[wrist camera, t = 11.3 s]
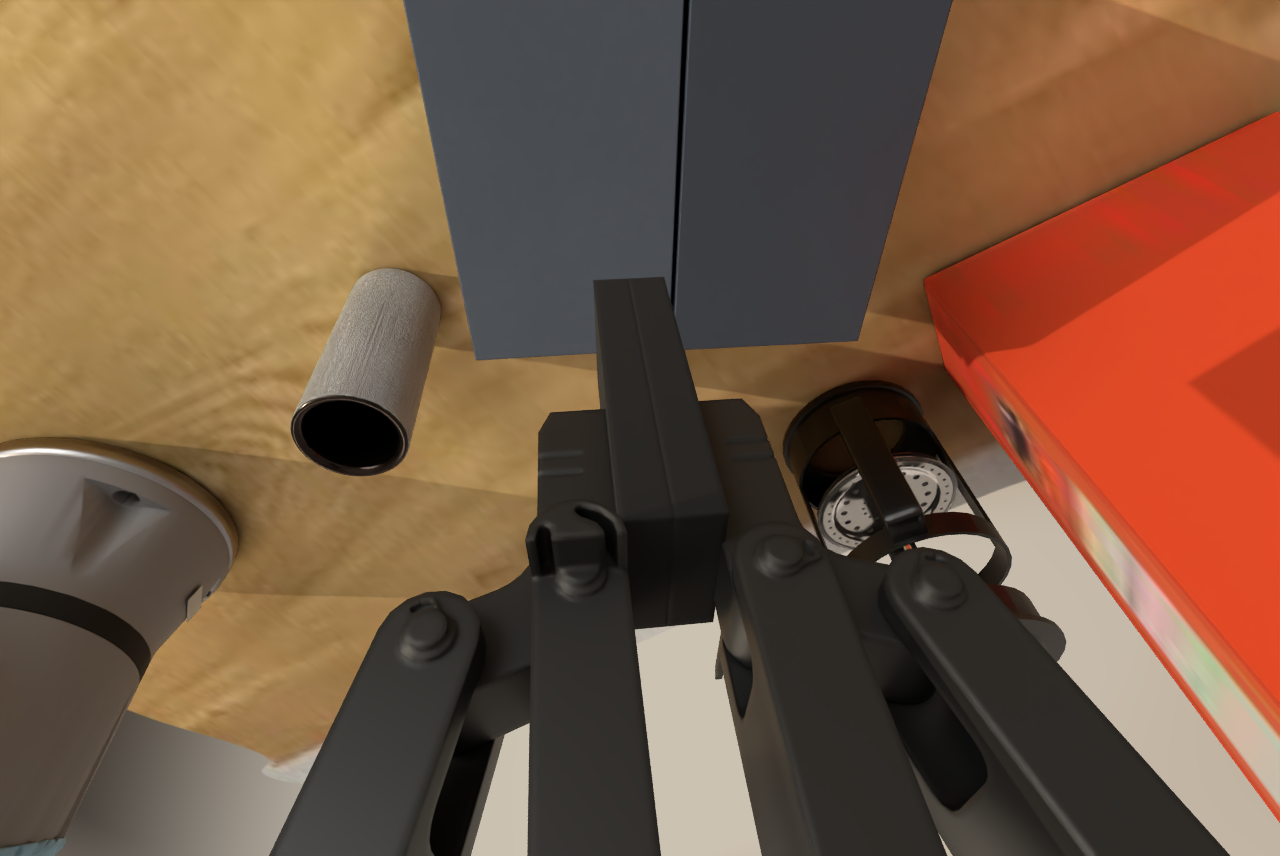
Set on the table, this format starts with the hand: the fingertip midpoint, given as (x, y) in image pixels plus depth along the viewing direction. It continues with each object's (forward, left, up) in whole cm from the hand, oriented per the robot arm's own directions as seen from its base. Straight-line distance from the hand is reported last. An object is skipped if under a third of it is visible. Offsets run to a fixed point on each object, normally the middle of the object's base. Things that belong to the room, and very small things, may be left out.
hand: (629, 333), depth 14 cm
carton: (+2, 0, -19) cm, 19 cm away
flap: (-1, 0, -9) cm, 9 cm away
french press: (+16, -21, -19) cm, 32 cm away
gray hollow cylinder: (-11, -10, -19) cm, 24 cm away
